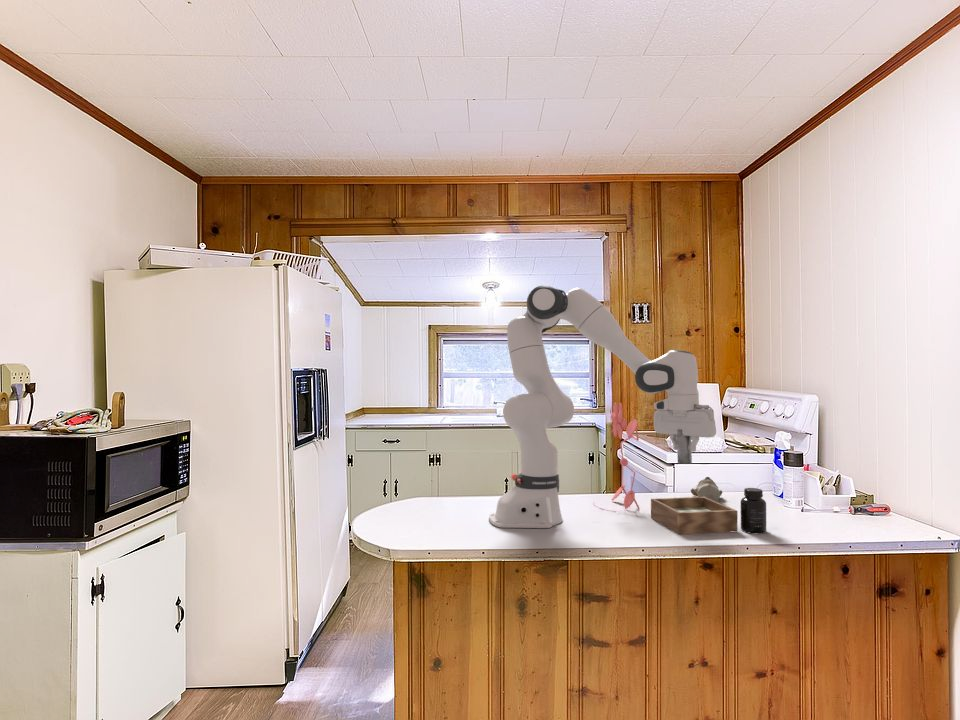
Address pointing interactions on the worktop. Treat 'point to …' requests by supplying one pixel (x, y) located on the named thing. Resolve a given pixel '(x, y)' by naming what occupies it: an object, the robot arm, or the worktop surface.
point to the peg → (683, 448)
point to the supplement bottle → (753, 511)
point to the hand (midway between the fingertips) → (684, 450)
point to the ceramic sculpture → (707, 489)
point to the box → (693, 515)
